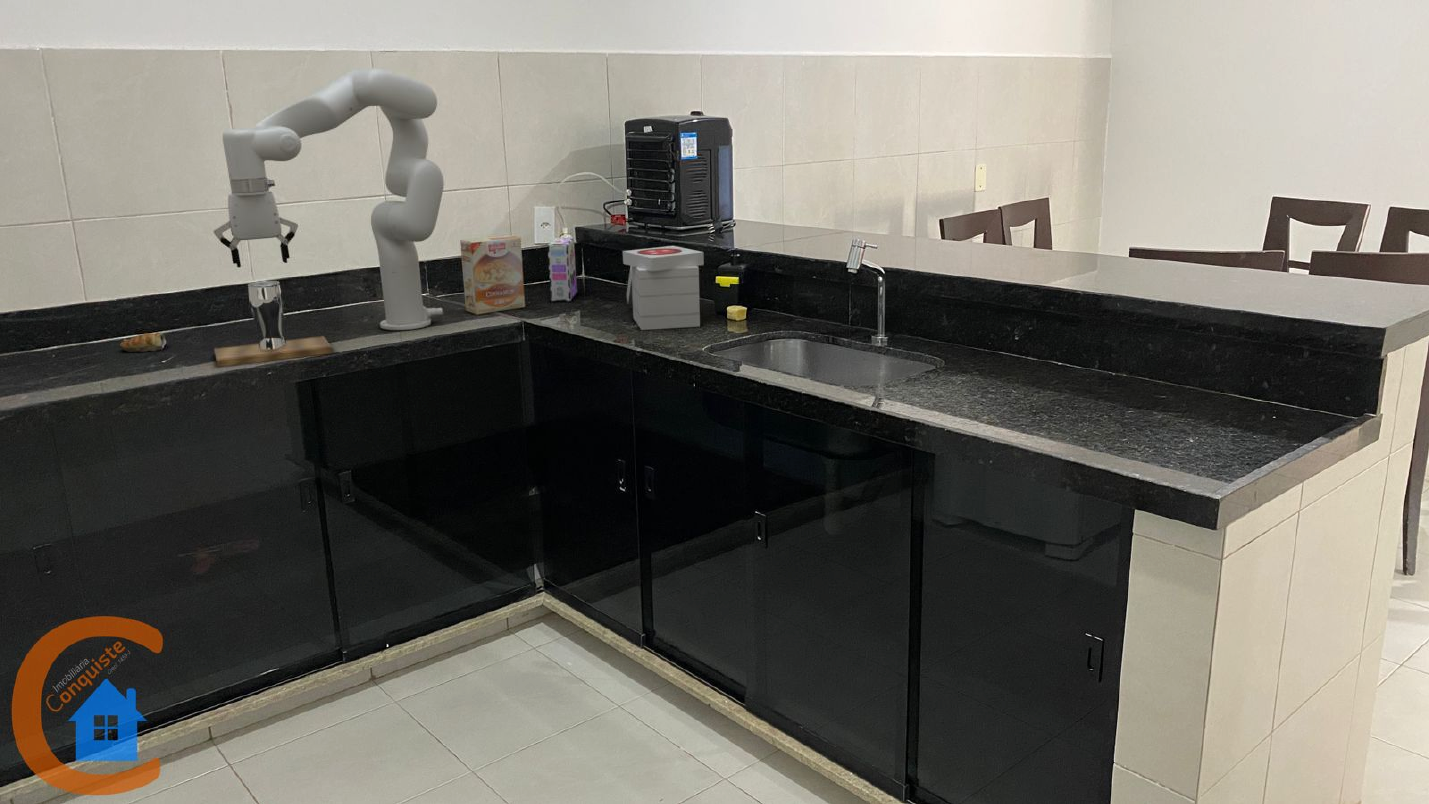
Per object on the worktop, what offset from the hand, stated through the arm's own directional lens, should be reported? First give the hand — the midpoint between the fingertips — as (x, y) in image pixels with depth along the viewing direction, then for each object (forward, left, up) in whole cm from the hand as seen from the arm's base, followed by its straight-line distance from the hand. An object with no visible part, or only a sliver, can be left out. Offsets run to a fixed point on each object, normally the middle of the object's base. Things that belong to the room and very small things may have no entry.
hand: (262, 264), depth 229 cm
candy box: (-81, -29, -21) cm, 88 cm away
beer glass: (0, 0, -20) cm, 20 cm away
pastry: (+26, -22, -21) cm, 40 cm away
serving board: (0, 0, -21) cm, 21 cm away
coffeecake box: (-59, -23, -21) cm, 66 cm away
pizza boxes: (-93, +12, -21) cm, 96 cm away
